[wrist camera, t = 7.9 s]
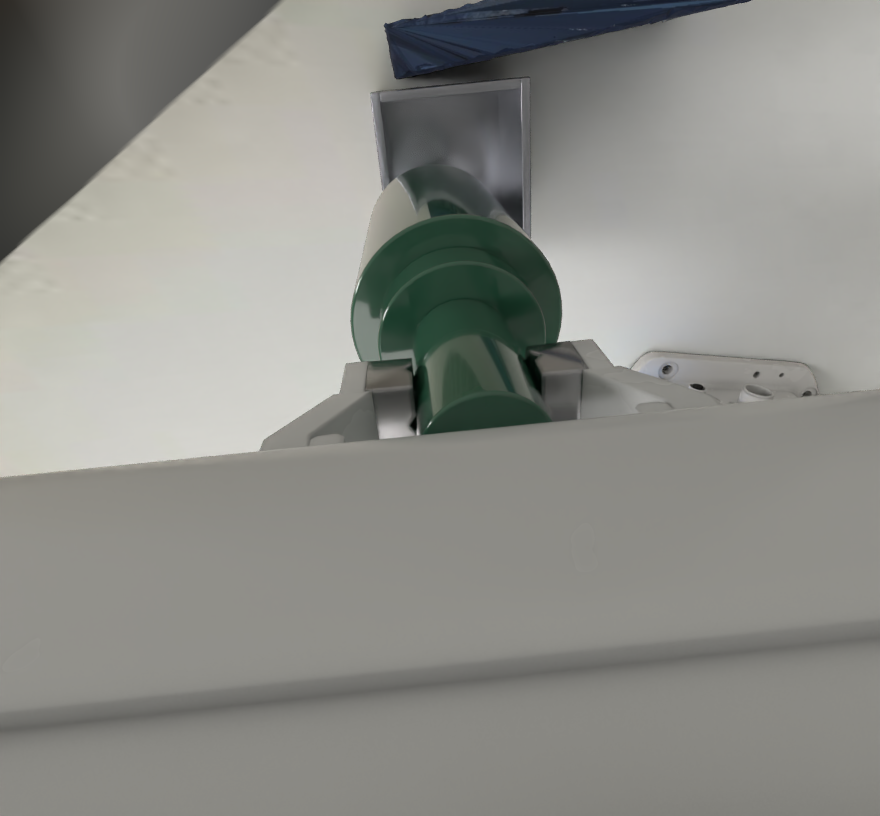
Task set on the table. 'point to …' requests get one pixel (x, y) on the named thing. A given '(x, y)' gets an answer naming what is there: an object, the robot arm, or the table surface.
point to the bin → (461, 135)
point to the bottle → (455, 300)
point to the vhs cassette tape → (519, 28)
